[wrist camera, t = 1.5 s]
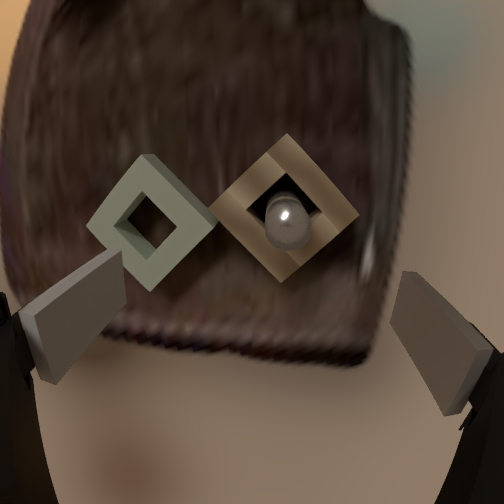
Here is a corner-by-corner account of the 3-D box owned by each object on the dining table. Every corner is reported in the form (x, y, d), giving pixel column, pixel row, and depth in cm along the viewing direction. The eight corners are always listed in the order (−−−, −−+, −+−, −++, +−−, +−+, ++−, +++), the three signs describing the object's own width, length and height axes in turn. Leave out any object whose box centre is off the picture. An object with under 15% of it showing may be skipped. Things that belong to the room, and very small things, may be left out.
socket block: (153, 153, 36) (141, 154, 33) (219, 220, 38) (213, 227, 35) (100, 219, 39) (86, 226, 36) (159, 279, 42) (149, 292, 38)
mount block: (285, 135, 35) (287, 133, 31) (350, 208, 37) (359, 214, 33) (213, 203, 38) (207, 208, 34) (280, 270, 40) (280, 283, 36)
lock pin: (283, 182, 37) (289, 194, 25) (306, 206, 37) (321, 229, 26) (259, 204, 38) (254, 226, 26) (282, 227, 38) (286, 259, 27)
